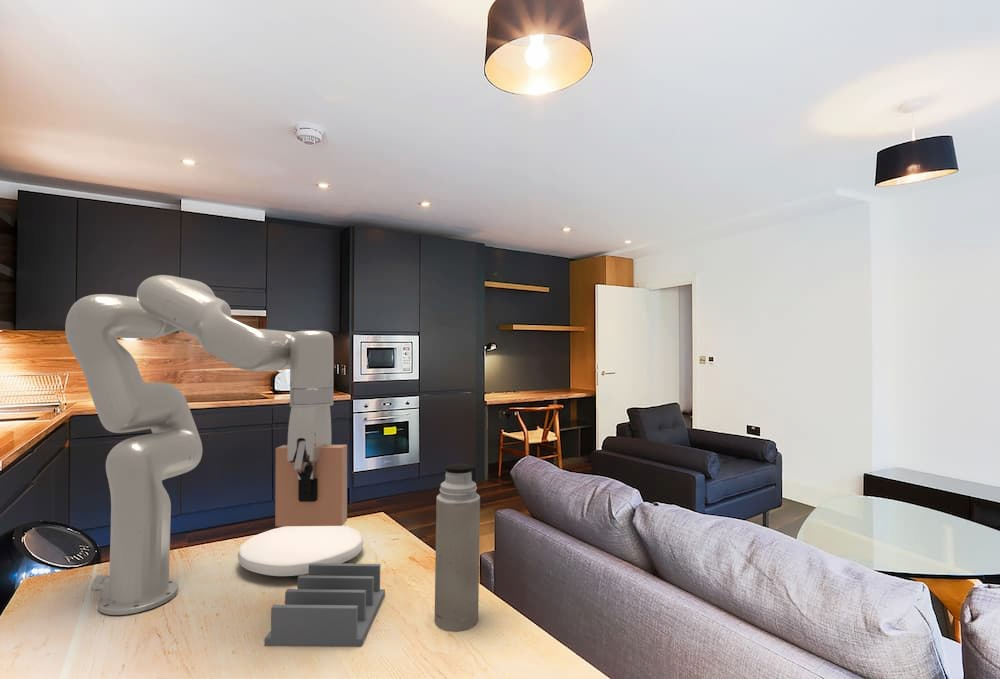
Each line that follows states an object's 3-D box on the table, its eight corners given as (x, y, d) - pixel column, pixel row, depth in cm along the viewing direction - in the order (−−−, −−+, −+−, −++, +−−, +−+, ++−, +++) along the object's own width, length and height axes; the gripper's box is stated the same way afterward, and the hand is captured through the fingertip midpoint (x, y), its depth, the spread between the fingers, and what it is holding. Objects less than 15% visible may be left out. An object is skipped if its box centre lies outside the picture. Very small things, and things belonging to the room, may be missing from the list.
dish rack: (264, 645, 84) (265, 607, 84) (304, 594, 101) (305, 563, 101) (361, 646, 84) (362, 608, 84) (384, 595, 101) (385, 564, 101)
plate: (289, 515, 135) (382, 524, 130) (287, 540, 134) (380, 550, 129) (210, 542, 108) (324, 554, 102) (206, 574, 107) (321, 588, 102)
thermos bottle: (429, 612, 95) (432, 462, 95) (470, 605, 98) (472, 459, 98) (440, 635, 87) (443, 471, 88) (484, 626, 90) (486, 468, 91)
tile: (275, 526, 91) (275, 448, 91) (282, 520, 94) (282, 445, 94) (342, 525, 91) (341, 447, 91) (347, 520, 94) (347, 444, 94)
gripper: (308, 394, 101) (308, 486, 101) (271, 402, 85) (271, 512, 84) (345, 393, 101) (346, 486, 101) (316, 401, 85) (316, 512, 84)
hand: (311, 497), depth 93 cm, fingers closed on tile, 3 cm apart
